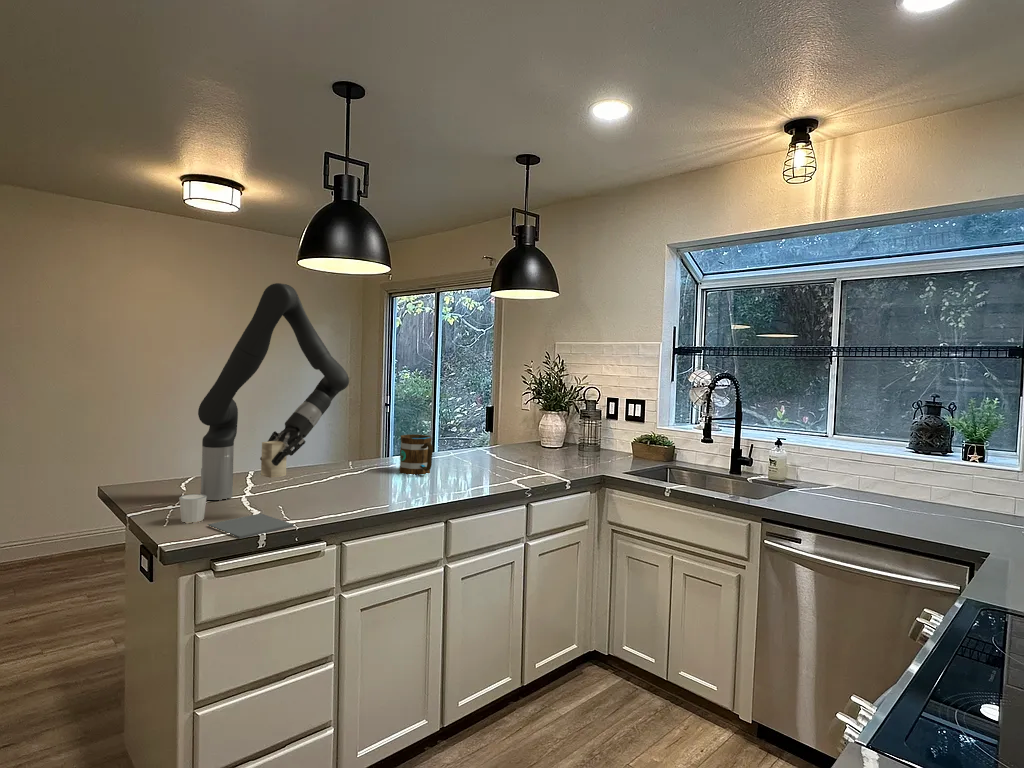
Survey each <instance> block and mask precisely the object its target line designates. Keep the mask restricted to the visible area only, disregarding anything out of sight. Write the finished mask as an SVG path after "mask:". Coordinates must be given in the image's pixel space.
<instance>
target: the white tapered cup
mask: <svg viewBox="0 0 1024 768" xmlns="http://www.w3.org/2000/svg"><path fill="white" fill-rule="evenodd" d="M206 498H207V496H206V495H203V494H201V493H199V494H198V493H195V494H193V493H192V494H185V495H181V496H179V498H178V500H179V509H180V510H179V511H180V522H181V521H182V522H197V521H201V520H203V519H204V520H205V514H206V506H207V505H206V504H207V500H206ZM182 522H181V523H182Z"/></svg>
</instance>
